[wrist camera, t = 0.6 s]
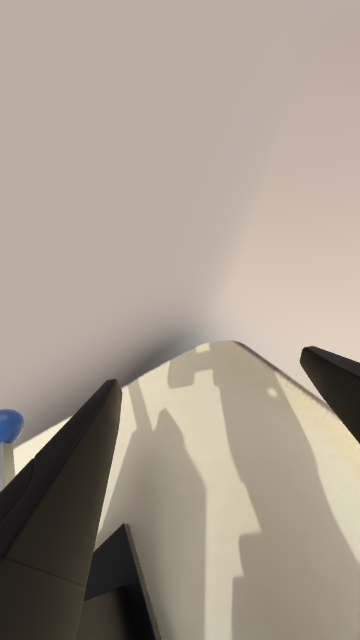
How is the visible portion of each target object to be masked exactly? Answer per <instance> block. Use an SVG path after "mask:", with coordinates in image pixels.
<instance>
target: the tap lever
mask: <svg viewBox="0 0 360 640" xmlns="http://www.w3.org/2000/svg"><path fill="white" fill-rule="evenodd" d="M23 427H24V420H23V417H22V415H21V414H20V413H19V412H17V411H15V410H11V409H1V410H0V492H1V491H2V490H3V489H4V488H5V487H6V486H7V484H8V483H9V482H10V481H11V480H12V479H13V478H14V477H15V468H14V456H13V443H14V442H15V441H16V440H17V438H18V437H19V436H20V434H21V432H22V430H23Z"/></svg>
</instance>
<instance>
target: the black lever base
mask: <svg viewBox="0 0 360 640" xmlns="http://www.w3.org/2000/svg"><path fill="white" fill-rule="evenodd" d="M85 587H86V590H85V594H84V599H83V604H82V609H81V614H80V619H79V623H78V628H77V633H76V638H75V640H161V637H160V633H159V630H158V626H157V623H156V619H155V616H154V612H153V609H152V605H151V602H150V598H149V595H148V592H147V588H146V585H145V581H144V578H143V574H142V571H141V567H140V564H139V560H138V557H137V554H136V550H135V547H134V543H133V540H132V536H131V533H130V529H129V526H128V524H125V523H123V524H122V525H121V526H120V527H119V528H118V529H117V530H116V531H115V532H114V533H113V534H112V535H111V536H110V537H109V538H108V539H107V540H106V541H105V542H104V543H103V544H102V545H101V546H100V547H99V548H98V549H97V550H96V551H94V552H93V555H92V560H91V565H90V570H89V574H88V579H87V584H86V586H85Z"/></svg>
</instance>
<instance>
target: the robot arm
mask: <svg viewBox="0 0 360 640" xmlns="http://www.w3.org/2000/svg"><path fill="white" fill-rule="evenodd" d="M300 364H301V366H302V368H303V369H304V371H305V372H306V374H307V375H308V377H309V378H310V380H311V381H312V383H313V384H314V386H315V387H316V389H317V390H318V392H319V393H320V395H321V396H322V397H323V399H324V400H325V401H326V402H327V404H328V405H329V406H330V407H331V409H332V410H333V411H334V412H335V414H336V415H337V416H338V417H339V419H340V420H341V421H342V422H343V424H344V425H345V426H346V427H347V429H348V430H349V431H350V432H351V434H352V435H353V436H354V437H355V439H356V440H357V441H358V442H359V444H360V363H359V362H356V361H353V360H351V359H348V358H345V357H342V356H340V355H337V354H334V353H331V352H328V351H326V350H323V349H320V348H317V347H314V346H310V347H304V348H303V350H302V353H301V358H300ZM121 402H122V390H121V388H120V385H119V383H118V381H117V379H110V380H107V381H106V382H105V383H104V384H103V385H102V386H101V387H100V388H99V389H98V390H97V391H96V392H95V393H94V394H93V395H92V397H90V399H89V400H88V401H87V402H86V403H85V404H84V405H83V406H82V407H81V408H80V409H79V410H78V411H77V412H76V413H75V414H74V415H73V416H72V418H71V419H70V420H69V421H68V422H67V423H66V424H65V425H64V426H63V427H62V428H61V429H60V430H59V431H58V432H57V433H56V434H55V435H54V436H53V438H52V439H51V440H50V441H49V442H48V443H47V444H46V445H45V446H44V447H43V448H42V449H41V450H40V451H39V452H38V453H37V454H36V455H35V457H34V458H33V459H32V460H31V461H30V462H29V463H28V464H27V465H26V466H25V467H24V468H23V469H22V470H21V471H20V472H19V473H18V474H17V475H16V476H15V477H14V478H13V479H12V480H11V481H10V482H9V483H8V484H7V486H6V487H5V488H4V489H3V490H2V491H1V492H0V640H75V638H76V633H77V628H78V623H79V619H80V614H81V609H82V604H83V599H84V594H85V590H86V587H85V586H86V584H87V579H88V574H89V570H90V565H91V560H92V555H93V550H94V546H95V541H96V536H97V531H98V526H99V521H100V517H101V512H102V507H103V502H104V497H105V493H106V488H107V483H108V478H109V473H110V468H111V464H112V459H113V454H114V449H115V444H116V440H117V435H118V429H119V422H120V412H121Z"/></svg>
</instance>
